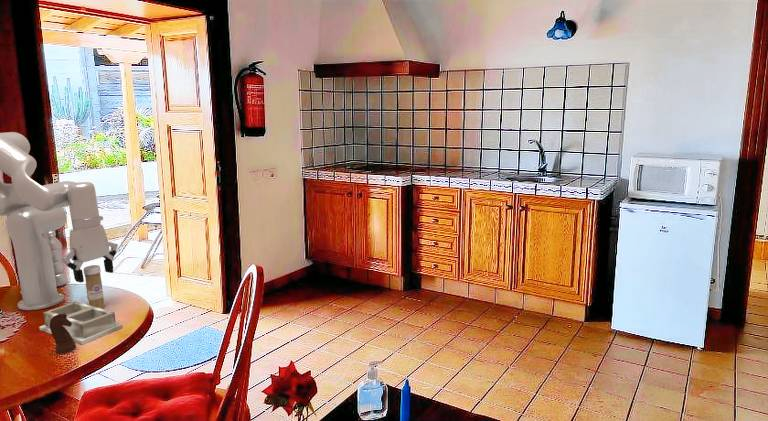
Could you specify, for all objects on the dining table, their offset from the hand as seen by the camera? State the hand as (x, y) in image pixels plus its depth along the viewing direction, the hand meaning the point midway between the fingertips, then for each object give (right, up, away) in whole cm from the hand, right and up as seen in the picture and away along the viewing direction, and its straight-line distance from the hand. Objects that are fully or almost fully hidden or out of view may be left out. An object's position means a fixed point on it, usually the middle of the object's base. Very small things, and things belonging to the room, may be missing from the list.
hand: (95, 276), depth 167 cm
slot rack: (+3, -13, -13) cm, 19 cm away
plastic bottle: (-26, -6, +23) cm, 35 cm away
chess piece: (+6, -16, -26) cm, 31 cm away
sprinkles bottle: (-1, -10, +2) cm, 10 cm away
